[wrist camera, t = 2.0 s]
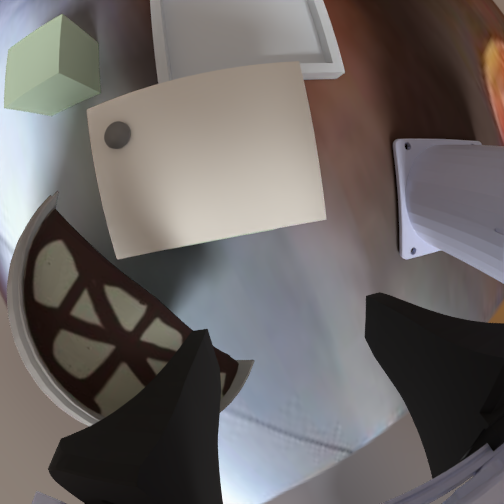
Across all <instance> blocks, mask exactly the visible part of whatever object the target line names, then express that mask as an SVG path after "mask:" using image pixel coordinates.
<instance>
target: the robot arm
mask: <svg viewBox="0 0 504 504" xmlns="http://www.w3.org/2000/svg"><path fill="white" fill-rule="evenodd" d="M405 143H406V144H407V146H408V148H407V150H406V149H405ZM393 152H394V160H395V169H396V179H397V191H398V207H399V238H400V256H401V257H402V258H404V259H410V258H414V257H418V256H422V255H426V254H429V253H433V252H437V251H440V250H442V251H444V252H446V253H448V254H450V255H452V256H454V257H456V258H458V259H460V260H462V261H464V262H466V263H467V264H469V265H471V266H473V267H475V268H477V269H479V270H480V271H482V272H484V273H486V274H488V275H489V276H491V277H493V278H495V279H496V280H498V281H500V282H502V283H503V284H504V146H488V145H482V144H481V143H480V142H479V141H470V140H453V139H396V140H395V141H394V142H393ZM412 248H413V251H412V252H411V249H412ZM365 339H366V341H367V343H368V345H369V347H370V349H371V351H372V353H373V355H374V357H375V358H376V360H377V361H378V363H379V364H380V365H381V367H382V368H383V370H384V371H385V373H386V374H387V376H388V377H389V379H390V380H391V381H392V383H393V384H394V386H395V387H396V389H397V390H398V392H399V393H400V395H401V397H402V398H403V400H404V402H405V404H406V406H407V408H408V410H409V412H410V414H411V416H412V418H413V421H414V423H415V426H416V428H417V430H418V433H419V435H420V438H421V441H422V444H423V446H424V449H425V452H426V456H427V459H428V463H429V466H430V470H431V474H432V478H433V479H432V480H430V481H428V482H426V483H424V484H422V485H420V486H418V487H416V488H414V489H412V490H410V491H408V492H406V493H404V494H402V495H400V496H397V497H395V498H393V499H390V500H388V501H386V502H383V503H381V504H429V503H431V502H433V501H435V500H436V499H438V498H440V497H441V496H443V495H445V494H446V493H448V492H450V491H451V490H453V489H454V488H456V487H457V486H459V485H461V484H462V483H464V482H465V481H466V480H468V479H469V478H470V477H472V476H473V477H472V478H471V479H470V480H469V481H467V482H466V483H465V484H464V485H462V486H461V487H459V488H458V489H457V490H456V491H455V492H454V493H453V494H452V495H451V496H450V497H449V498H448V499H447V500H446V501H444V502H443V503H442V504H504V324H501V323H485V322H476V321H470V320H464V319H460V318H455V317H451V316H447V315H443V314H440V313H437V312H434V311H430V310H428V309H425V308H422V307H419V306H416V305H414V304H411V303H408V302H406V301H403V300H401V299H398V298H395V297H393V296H390V295H387V294H384V293H380V292H379V293H375V294H372V295H368V296H366V323H365ZM220 401H221V376H220V367H219V364H218V361H217V358H216V355H215V352H214V348H213V345H212V342H211V339H210V336H209V332H208V329H203V330H197V331H192V332H191V333H190V334H189V336H188V337H187V338H186V340H185V341H184V342H183V344H182V345H181V346H180V348H179V349H178V350H177V352H176V353H175V354H174V355H173V357H172V358H171V359H170V361H169V362H168V363H167V364H166V365H165V366H164V367H163V369H162V370H161V371H160V372H159V373H158V374H157V375H156V376H155V378H154V379H153V380H152V381H151V382H150V383H149V384H148V385H147V386H146V387H145V388H144V389H142V390H141V391H140V392H139V393H138V394H137V395H136V396H135V397H133V398H132V399H131V400H129V401H128V402H127V403H125V404H124V405H123V406H121V407H120V408H119V409H117V410H116V411H115V412H113V413H112V414H110V415H108V416H107V417H105V418H104V419H102V420H100V421H98V422H97V423H95V424H93V425H91V426H89V427H87V428H85V429H83V430H81V431H79V432H76V433H74V434H72V435H69V436H67V437H64V438H62V439H61V440H60V442H59V445H58V447H57V449H56V452H55V454H54V456H53V458H52V461H51V463H50V466H49V468H48V470H49V473H50V474H51V476H52V477H53V479H54V480H55V481H56V482H57V483H58V484H60V485H61V486H62V487H63V488H65V489H66V490H67V491H68V492H70V493H71V494H73V495H74V496H75V497H77V498H78V499H79V500H81V501H82V502H84V503H85V504H223V501H222V493H221V484H220V473H219V460H218V427H219V414H220ZM32 504H66V503H64V502H62V501H60V500H58V499H55V498H53V497H50V496H48V495H46V494H43V493H41V492H39V491H37V492H36V493H35V496H34V499H33V501H32Z"/></svg>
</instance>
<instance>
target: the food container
mask: <svg viewBox="0 0 504 504" xmlns="http://www.w3.org/2000/svg"><path fill="white" fill-rule="evenodd" d="M58 193H59V192H58V191H57V192H56V193H55V194H54V195H53V196H51V195H50V196H49V197H48V198H47V199H46V200H45V201H44V202H43V204H42V205H41V206H40V207H39V208H38V209H37V211H36V212H35V213H34V215H33V216H32V218H31V219H30V221H29V222H28V224H27V226H26V228H25V229H24V231H23V233H22V235H21V236H20V238H19V240H18V242H17V245H16V248H15V251H14V254H13V257H12V260H11V263H10V269H9V276H8V283H7V307H8V317H9V322H10V326H11V331H12V335H13V339H14V342H15V344H16V347H17V349H18V352H19V354H20V356H21V359H22V361H23V363H24V365H25V367H26V368H27V370H28V372H29V373H30V375H31V376H32V378H33V379H34V381H35V382H36V383H37V385H38V386H39V388H40V389H41V390H42V391H43V392H44V393H45V394H46V395H47V396H48V397H49V398H50V399H51V400H52V401H53V402H54V403H55V404H56V405H57V406H58V407H59V408H61V409H62V410H63V411H65V412H66V413H68V414H69V415H70V416H72V417H73V418H75V419H76V420H77V421H79V422H82V423H83V424H86V425H88V426H91V425H93V424H95V423H97V422H98V421H100V420H102V419H104V418H105V417H107V416H108V415H110V414H112V413H113V412H115V411H116V410H117V409H119V408H120V407H121V406H123V405H124V404H125V403H127V402H128V401H129V400H131V399H132V398H133V397H135V396H136V395H137V394H138V393H139V392H140V391H141V390H142V389H144V388H145V387H146V386H147V385H148V384H149V383H150V382H151V381H152V380H153V379H154V378H155V376H156V375H157V374H158V373H159V372H160V371H161V370H162V369H163V367H164V366H165V365H166V364H167V363H168V362H169V361H170V359H171V358H172V357H173V355H174V354H175V353H176V352H177V350H178V349H179V348H180V346H181V345H182V344H183V342H184V341H185V340H186V338H187V337H188V336H189V334H190V333H191V332H192V331H193V330H192V329H190V328H189V327H188V326H187V325H186V324H184V323H183V322H182V321H181V320H180V319H179V318H178V317H177V316H176V315H175V314H173V313H172V312H171V311H170V310H169V309H168V308H167V307H166V306H165V305H163V304H162V303H161V302H160V301H159V300H158V299H157V298H156V297H155V296H153V295H152V294H151V293H149V292H148V291H147V290H145V289H144V288H143V287H141V286H140V285H139V284H137V283H136V282H135V281H133V280H132V279H131V278H129V277H128V276H127V275H125V274H124V273H123V272H121V271H120V270H119V269H118V268H116V267H115V266H114V265H113V264H112V263H110V262H109V261H108V260H107V259H106V258H104V257H103V256H102V255H101V254H100V253H99V252H98V251H97V250H96V249H95V248H94V247H92V246H91V245H90V244H89V243H88V242H87V241H86V240H85V239H84V238H83V237H82V236H81V235H80V234H79V233H78V232H77V231H76V230H75V229H74V228H73V227H72V226H71V225H70V224H69V223H68V222H67V221H66V220H65V219H64V218H63V217H62V215H61V214H60V213H59V212H58V211H57V210H56V203H57V198H58ZM213 348H214V352H215V355H216V358H217V361H218V364H219V367H220V376H221V401H220V412H221V411H222V410H224V409H225V408H226V407H227V406H228V405H229V404H230V403H231V402H232V401H233V399H234V398H235V397H236V396H237V394H238V393H239V392H240V390H241V389H242V387H243V385H244V383H245V382H246V380H247V378H248V376H249V374H250V371H251V369H252V366H253V363H254V360H234V359H233V358H231V357H230V356H229V355H228V354H226V353H224V352H222V351H220V350H219V349H217V348H215V347H214V346H213Z"/></svg>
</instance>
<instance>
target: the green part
mask: <svg viewBox="0 0 504 504" xmlns="http://www.w3.org/2000/svg"><path fill="white" fill-rule="evenodd" d="M100 93H101V87H100V73H99V45H98V42H97V41H95V40H94V39H93V38H92V37H91V36H89V35H88V34H87V33H86V32H85V31H83V30H82V29H81V28H80V27H78V26H77V25H76V24H75V23H73V22H72V21H71V20H70V19H68V18H67V17H66V16H65V15H63V14H61V15H59V16H58V17H56V18H54V19H53V20H51V21H49V22H48V23H46V24H44V25H43V26H41V27H40V28H38V29H36V30H35V31H33V32H32V33H31V34H29V35H28V36H26V37H25V38H23V39H22V40H21V41H19V42H18V43H16V44H15V45H14V46H12V47H11V48H10V49H9V50H8V57H7V65H6V76H5V92H4V108H7V109H13V110H20V111H26V112H31V113H37V114H42V115H48V116H53V115H55V114H57V113H59V112H61V111H63V110H65V109H67V108H69V107H71V106H73V105H75V104H77V103H80V102H82V101H84V100H86V99H89V98H91V97H93V96H96V95H98V94H100Z"/></svg>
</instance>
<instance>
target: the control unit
mask: <svg viewBox="0 0 504 504" xmlns="http://www.w3.org/2000/svg"><path fill="white" fill-rule="evenodd" d="M87 119H88V128H89V135H90V143H91V149H92V156H93V162H94V167H95V173H96V178H97V183H98V188H99V193H100V197H101V202H102V206H103V210H104V214H105V218H106V222H107V226H108V230H109V234H110V237H111V241H112V244H113V248H114V251H115V255H116V258H117V260H118V259H123V258H128V257H132V256H137V255H142V254H147V253H152V252H157V251H161V250H166V249H167V250H170V249H175V248H180V247H185V246H190V245H195V244H200V243H205V242H210V241H215V240H220V239H226V238H231V237H236V236H241V235H247V234H252V233H257V232H263V231H268V230H274V229H275V228H281V227H287V226H292V225H298V224H303V223H309V222H315V221H321V220H326V212H325V203H324V195H323V187H322V180H321V173H320V166H319V160H318V153H317V147H316V141H315V135H314V130H313V124H312V119H311V113H310V108H309V103H308V98H307V94H306V89H305V84H304V80H303V75H302V71H301V67H300V63H299V61H293V62H277V63H266V64H256V65H248V66H241V67H234V68H227V69H221V70H216V71H210V72H205V73H200V74H196V75H191V76H187V77H183V78H178V79H174V80H171V81H167V82H163V83H160V84H156V85H153V86H149V87H146V88H143V89H140V90H137V91H134V92H131V93H128V94H125V95H122V96H119V97H116V98H114V99H111V100H108V101H106V102H103V103H101V104H98V105H96V106H93V107H91V108H89V109H87Z"/></svg>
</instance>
